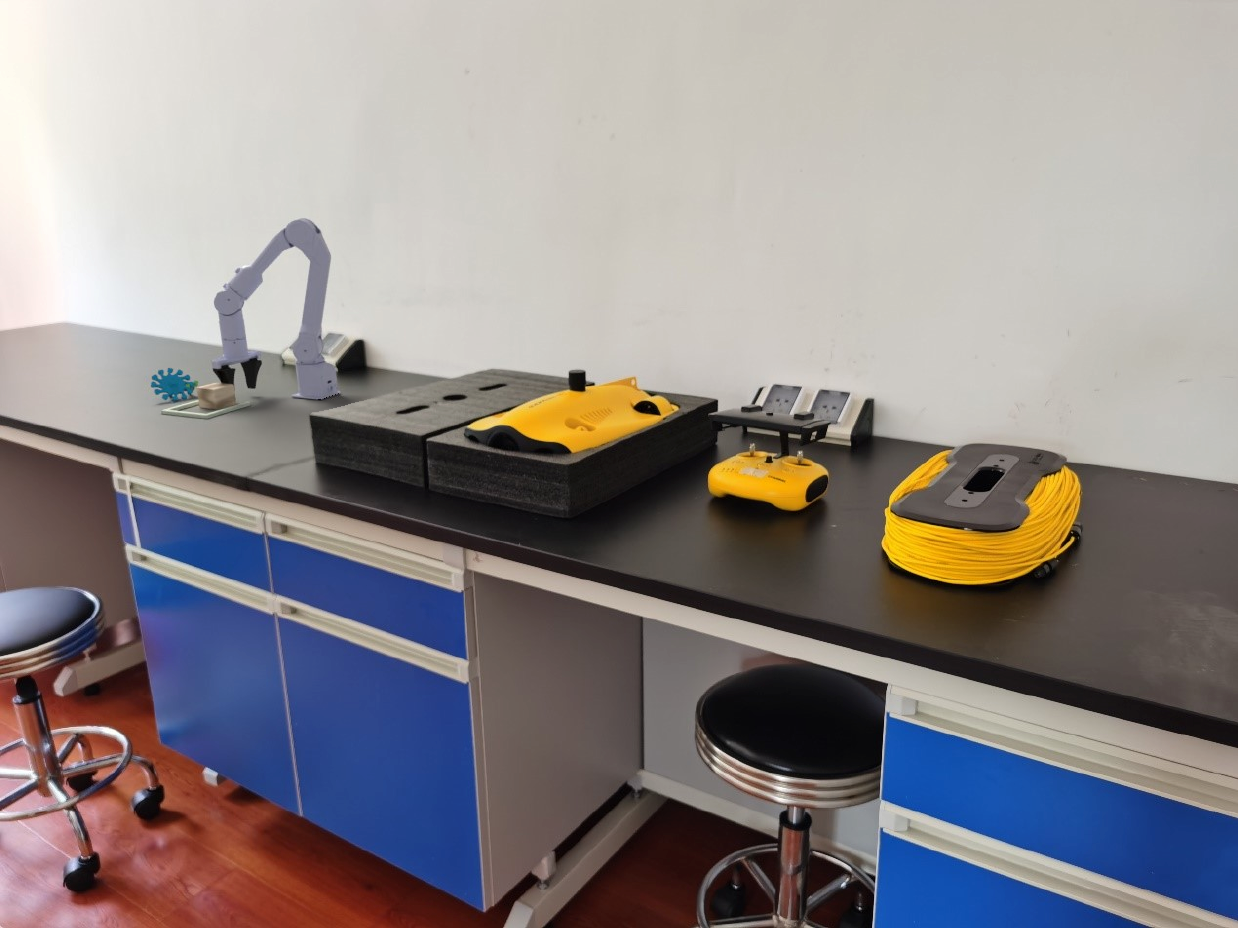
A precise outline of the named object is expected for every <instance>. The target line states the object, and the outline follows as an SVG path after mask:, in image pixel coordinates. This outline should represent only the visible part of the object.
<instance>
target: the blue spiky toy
mask: <svg viewBox="0 0 1238 928" xmlns="http://www.w3.org/2000/svg"><path fill="white" fill-rule="evenodd" d="M166 372H167V374H166V375H164V373H165V369H158V370H157V374H158V375H159V376H160V377H161V378H159V376H158V375H157V374H155V373H154V374H153V375H152V376H151V380H152V381H151V382H150V388H155V389H154V391H153V393H154V394H155V395H156V396H158V395H160V394H162V396H161V399H163V400H164V401H167V400H168V398H172V399H171V401H172V402H178V401H179V397H178V395H179V394H181V397H180V398H181V400H182V401H183V400H187V399H188V396H191V395H193V394H194V390H195V388H196V387H199V386H198V385H199V381H198V380H194V381H191V376H190V374H185V375H184V376H183V374H184V371H183V370H181V369H178V370H177V371H176V373H174V374H172V373H173V372H174V368H172V367H168V368H167V371H166ZM157 382H158V383H157ZM185 392H187V394H186V393H185Z"/></svg>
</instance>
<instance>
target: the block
mask: <svg viewBox="0 0 1238 928" xmlns="http://www.w3.org/2000/svg"><path fill="white" fill-rule="evenodd" d="M195 388H196V394H197V395H196V396H197V400H198V402H199V404H198V406H199V407H198V408H201V409H209V410H214V411H217V410H221V409H224V408H227V407H231V406H234V405H237V400H236V393H235V391H234V388H235V384H234V385H232V384H224V383H221V382H213V383H208V384H205V385H201V386H197V387H195Z"/></svg>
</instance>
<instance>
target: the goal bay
mask: <svg viewBox="0 0 1238 928" xmlns="http://www.w3.org/2000/svg"><path fill="white" fill-rule="evenodd" d="M195 406H199V402H198V399H196V400H193V401H190V402H187V403H183V404H178V405H175V406H171V407H169V408H165V409H162V410H160V414H162V415H169V416H178V417H179V416H180V417H185V418H186V417H187V418H195V419H203V420H208V419H210V418H214V417H218V416H220V415H223V414H227V413H230V412H233V411H236V410H237V411H238V410H239V409H243V408H247V407H249V406H251V402H250V401H244V402H241V403H238V404H237V403H236V404H235V405H232V406H228V407H225V408H221V409H218V410H214V411H212V412H208V413H202V412H192V411H191V412H190V411H183V410H184V409H187V408H190V407H191V408H192V407H195Z"/></svg>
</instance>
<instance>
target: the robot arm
mask: <svg viewBox="0 0 1238 928" xmlns="http://www.w3.org/2000/svg"><path fill="white" fill-rule="evenodd" d="M294 247H295V248H297V249H298V250H300V251H301V252H302V253H303V255H305V257H306V258H307V259H308V260H309V268H308V275H307V283H306V289H305V298H304V303H303V305H304V306H303V311H302V317H301V319H302V321H301V325H300V328H299V332H298V338H297V339H296V341H295V342H294V343H293V346H292V354H293V356H294V357H295V359H294V364H295V372H296V381H297V389H298V392H297V393H294V394H291V397H292V398H298V399H299V398H300V399H310V400H318V399H321V400H324V398H325V399H327V398H330V397H333V396H336V395H339V394H341V391H340V390H339V387H338V378H337V370H336V368H335V366H334V365H333V364H332V363H330V362H327V361H326V360H325V359H326V358H325V357H324V356H323V354H321V353H322V352H323V350H324V346H325V345H324V341H323V338H322V332H323V327H322V323H323V316H324V310H325V303H326V297H327V296H326V295H327V290H328V289H327V288H328V282H329V276H330V269H331V268H330V267H331V261H332V255H331V251H330V249H329V248H328V244H327V243H326V241H325V239H324V237H323V233H322V230H321V229H320V228H319V227H318V226H317V225H316V224H315V223H314V222H313V221H312V220H311V219H310V218H309V219H308V218H305V217H304V218H302V217H301V218H298V219H294V220H291V221H290V222H289V223H288V224H287V225H286V227H284V228H282V229H281V230H280V231H278V233H276V234H275V236H273V238H272V239H271V240H270V241H269V242H268V244H267V245H266V246H265V247H264V249H263V250H262V251H261V252H260V254H258V256H257V257H256V259H255V260H254V261H253V263H252V264H250V265H243V266H241V268H240V267H237V268H236V269H235V270H234V273H235V274H234V276H233V277H232V278H231V279H230V280H229V281H228V283H224V284H223V286H222V287H223V289H224V290H221V291H218V292H217V293H216V295H215V297H214V300H213V306H214V308H215V310H216V311H217V313H218V319H219V321H218V323H219V325H218V326H219V330H220V337H221V344H222V350H223V354H222V355H221V357H218V358H217V359H216V358H215V359H213V360H211V367H212V368H211V369H212V372H213V373H214V374H215V375H216V377H217V378H218V380H219V381H220V383H224V384H232V385H234V386H235V374H236V368H235V367H233V368H232V367H230V366H232V365H238V364H240V366H241V368H242V371H243V374H244V377H245V383H246V387H247V389H250V390H251V389H252V390H254V389H256V388H257V380H258V375H259V371H260V369H261V366H262V364H263V362H262V360H261V350H250V351H249V350H248V341H247V335H246V326H245V320H244V315H243V309H242V308H243V307H244V305H245V301H247V300H249V298H250V297H251V296H252V295H253V294H254V293H255V292H256V290H257V289H258V288H259V287H260V285H262V284H263V282H264V281H263V273H264V272H265V271H266V270H267V269H268V268H269V267H270V266H271V265H272V264H273V262H275V260H277V258H278V257H279V256H280V255H281V254H282V253H283V252H284V251H286V250H290V249H292V248H294ZM235 390H236V389H235V387H234V391H235ZM338 393H339V394H338ZM335 394H336V395H335ZM332 395H333V396H332ZM329 396H330V397H329ZM326 397H327V398H326Z"/></svg>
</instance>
